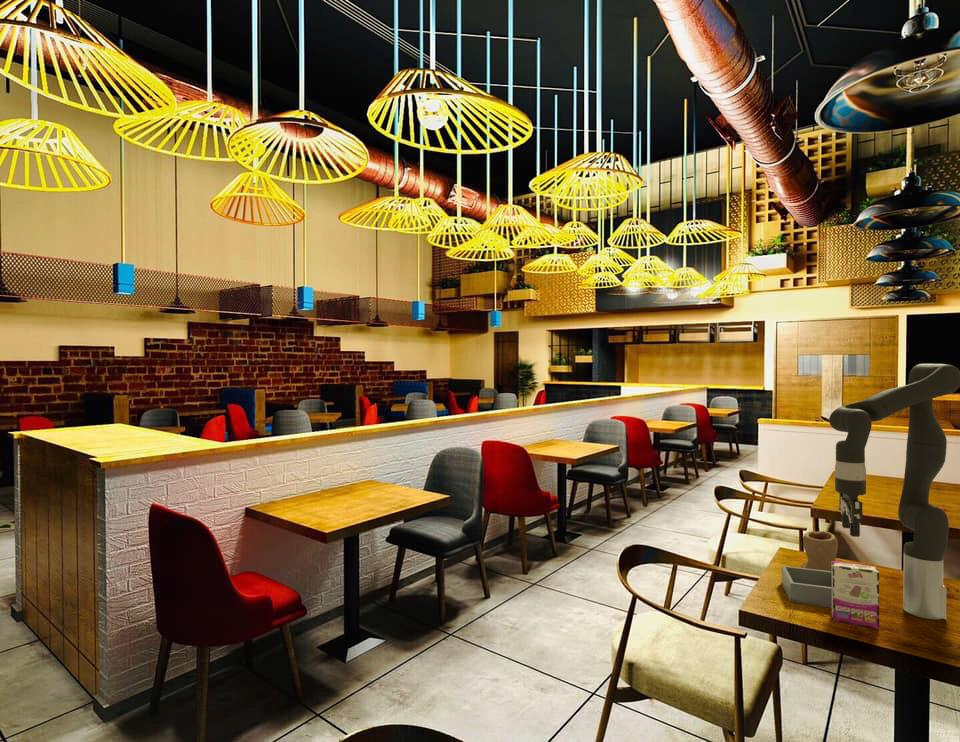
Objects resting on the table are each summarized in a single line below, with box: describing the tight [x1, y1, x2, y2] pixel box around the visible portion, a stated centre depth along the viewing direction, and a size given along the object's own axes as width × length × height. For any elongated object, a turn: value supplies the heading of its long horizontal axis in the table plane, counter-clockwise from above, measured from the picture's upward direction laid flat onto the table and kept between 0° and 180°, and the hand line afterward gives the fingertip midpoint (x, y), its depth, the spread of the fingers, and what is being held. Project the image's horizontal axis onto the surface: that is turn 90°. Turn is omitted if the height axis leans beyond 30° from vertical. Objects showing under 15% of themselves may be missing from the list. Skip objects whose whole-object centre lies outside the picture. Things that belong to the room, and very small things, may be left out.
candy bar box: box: [831, 561, 880, 630], centre depth 155 cm, size 11×5×16 cm, turn 62°
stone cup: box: [800, 530, 839, 571], centre depth 190 cm, size 15×12×15 cm
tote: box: [781, 565, 832, 609], centre depth 172 cm, size 16×16×6 cm
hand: (850, 531), depth 156 cm, fingers open, 8 cm apart
